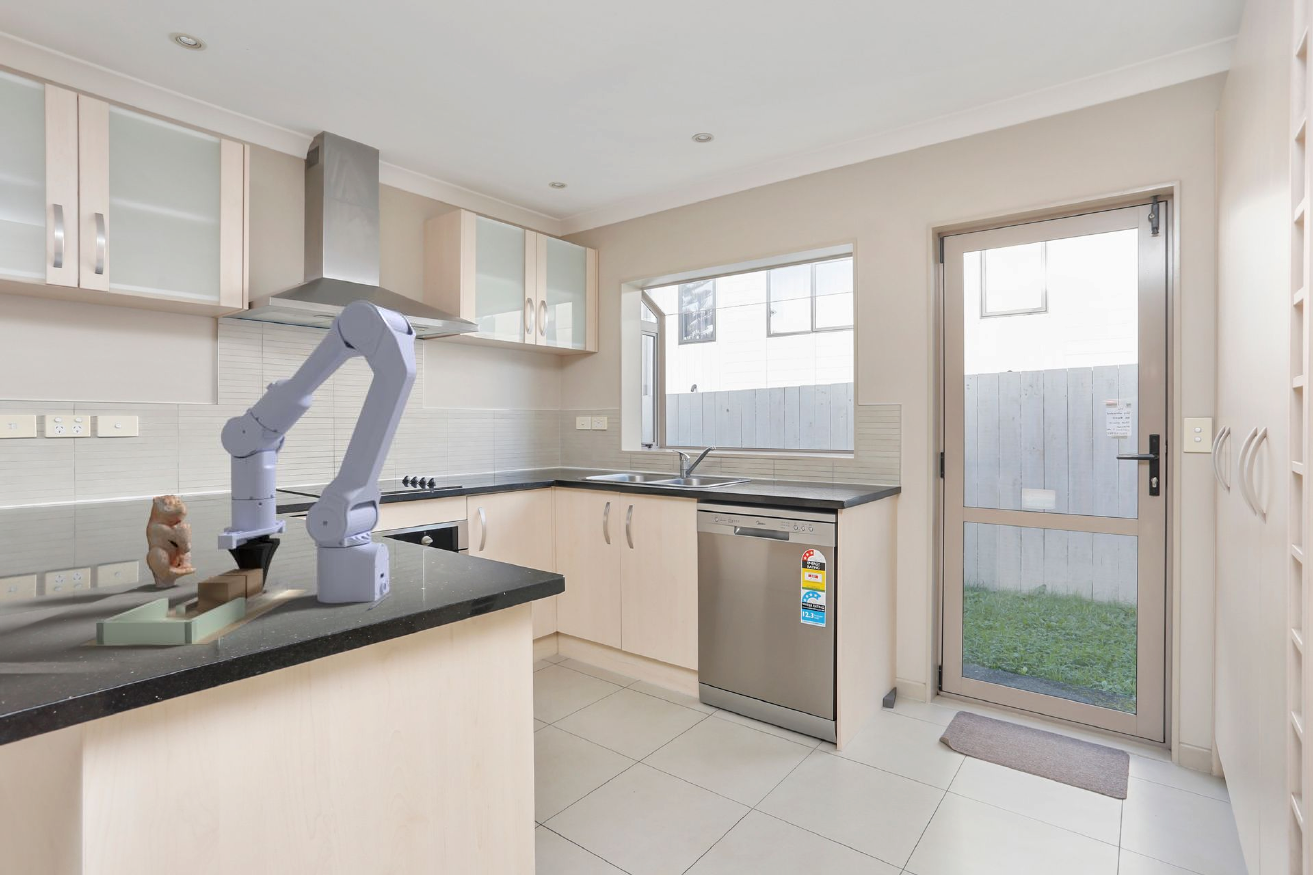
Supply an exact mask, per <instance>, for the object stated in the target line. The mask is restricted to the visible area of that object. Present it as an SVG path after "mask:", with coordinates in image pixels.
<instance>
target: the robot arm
mask: <svg viewBox="0 0 1313 875" xmlns="http://www.w3.org/2000/svg"><path fill="white" fill-rule="evenodd" d="M416 337H417V333H416V331H415V329H414V327H413V326H412V325H411V323H410V321H409V320H408V318H407V317H406V316H405V315H404V314H402V313H401V312H399V311H396V310H391V309H387V308H385V307H381V306H378V305H376V304H374V303H372V302H370V301H368V300H362V299H360V300H355V301H352V302H350V303H348V304H347V305H346V306H345V307H344V308H343V310H342V311H341V313H340V314H338V315H337V316H336V317H334V318H333V319H332V320H331V323H330V327H329V330H328V332H327V334H326V335H325V336H324V338H323V339H322V340H321V341H320V343H318V345H317V346H316V347H315V348H314V350H313V351H312V353H311V354H310V355H309V356H308V357H307V358H306V360H305V361H304V362H303V363H302V365H301V366H300V367H299V368H298V370H297V371H296V372H295V373H294V374H293V375H292V377H290V378H289V379H287V378H283V379H277V380H276V381H275V382H273V381H271V382H270V383H269V384H268V385H267V386H266V390H267V391H266V392H264V394H263V396H261V397H260V399H259V400H258V401H257V402H256V403H255V404H254V405H253V406H250V407H249V408H247V409H246V410H245V411H246V413H244V414H243V415H240V416H234V417H233V416H232V417H231V418H229V419H228V420H227V421H226V423H225V425H224V426H223V427H222V430H221V434H220V441H221V445H222V447H223V448H224V450H225V451H226V452H227V453H228V454H230V484H231V485H230V492H231V493H230V499H231V504H230V506H231V507H230V508H231V526H227V527H224V528H223V533H221V534H219V535H217V549H218V550H227V551H228V552H229V553H230V555H232V557H233V558H232V559H234V561H235V562H236V564H237V567H238V569H263V588H264V587H265V584H266V581H267V577H268V573H269V569H270V565H271V563H272V560H273V557H274V555H275V554H276V551H277V549H278V548H279V547H280V545H281V539H280V537H270V536H274V535H276V534H285V533H286V532H287V531H286V530H287V529H286V526H287V525H286V524H287V523H286V520H285V519H280V520H279V519H277V478H276V477H277V473H276V472H277V469H276V468H277V463H278V459H279V453H280V451H281V449H283V447H284V445H285V440H286V436H285V435H286V434H287V432H288V431H289V430H291V429H292V427H293V426H294V425H295V424H296V423H297V422H298V421H299V420H300V419H301V418H302V417H303V415H305V414H306V412H307V411H308V410H309V409H310V408H311V407H312V406H313V396H312V395H313V393H314V392H315V391H316V390H318V388H319V387H320V386H322V385H323V383H325V381H327V380H328V379H329V378H330V377H331V376H332V375H333V374H334V373H336V371H337V370H338V369H339V368H341V367H342V365H343V364H344V365H345V363H346V362H347V361H348V360H349V359H352V358H358V357H364V359H365V361H366V362H367V364H368V366H369V368H370V369H371V371H372V373H373V378H372V380H371V383H370V386H369V388H368V391H367V394H366V396H365V400H364V402H363V405H362V408H361V410H360V414H359V417H358V419H357V421H356V424H355V427H354V430H353V432H352V434H351V438H350V440H349V443H348V445H347V449H346V452H345V455H344V457H343V460H342V461H341V462H342V463H341V466H340V468H339V470H338V473H337V475H336V477H334V479H333V480H332V481H330V482H329V483H328V484H327V485H326V486H325V487H324V488H323V490H322V491H321V494H320V496H319V499H318V500H317V502H315V503H314V504H313V505H312V506H311V507H310V508H309V510H308V512H307V513H306V514H307V515H306V517H305V528H306V531H307V534H308V535H309V536H310V538H311V539H312V540H313V541H314V543H315V544H314V546H315V547H316V586H317V587H316V595H317V596H316V598H317V601H318V602H321V603H326V604H338V603H339V604H340V603H343V604H344V603H353V602H355V603H356V602H357V603H359V602H361V603H362V602H366V603H367V602H371V603H372V602H376V603H374V604H373V605H372V606H370V607H369V609H374V607H376V606H377V605H378V604H380V603H382V602H383V601H385V599H387V598H388V597H389V596H392V592H390V552H389V548H388V545H387V544H386V543H383V542H373V541H372V531H373V530H375V528H376V527H377V525H378V524H379V520H380V507H379V506H380V500H381V498H382V492H381V490H380V489H379V487H378V481H379V479H380V477H381V473H382V471H383V469H384V468H383V467H384V465H385V461H386V460H387V456H388V455H389V452H390V449H391V446H392V443H393V441H394V438H395V435H396V432H397V429H398V427H399V424H400V421H401V419H402V416H403V414H404V411H405V408H406V407H407V406H406V405H407V402H408V400H409V397H410V394H411V392H412V390H413V387H414V383H415V381H416V379H417V374H418V369H417V361H416V353H415V344H414V343H415V342H414V341H415V340H416ZM389 592H390V593H389ZM387 593H388V594H387ZM386 594H387V595H386ZM383 596H384V597H383ZM382 597H383V598H382ZM380 598H381V599H380Z"/></svg>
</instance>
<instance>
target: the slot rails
mask: <svg viewBox="0 0 1313 875" xmlns="http://www.w3.org/2000/svg"><path fill="white" fill-rule="evenodd" d="M263 590H264V591H262V592H259V593H257V594H255V595H253V596H251V597H249V598H246V599H245V612H246V611H248V610H250V609H252V608H254V607H256V606H258V605H260V604H262V603H264V602H266V601H268V600H270V599H272V598H274V597H277V596H279V595H281V594H283V593H285V592H287V591H289V590H291V581H281V582H279V583H277V584H275V585H272V586H270V587H268V588H266V589H263ZM175 606H176V615H186V614H188V613H190V612H193V611H195V610H197V609H198V596H196V597H193V598H192V599H189V600H187V601H184V602H182V603H179V604H176V605H175Z"/></svg>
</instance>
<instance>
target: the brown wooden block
mask: <svg viewBox="0 0 1313 875" xmlns="http://www.w3.org/2000/svg"><path fill="white" fill-rule="evenodd" d="M217 576H245V599H246V598H249V597H251V596H253V595H255V594H257V593H259V592H262V591H263V590H264V589H263V588H264V587H263V569H239V568H233V569H231V570H228V571H226V572H222V573H220V574H217Z"/></svg>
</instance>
